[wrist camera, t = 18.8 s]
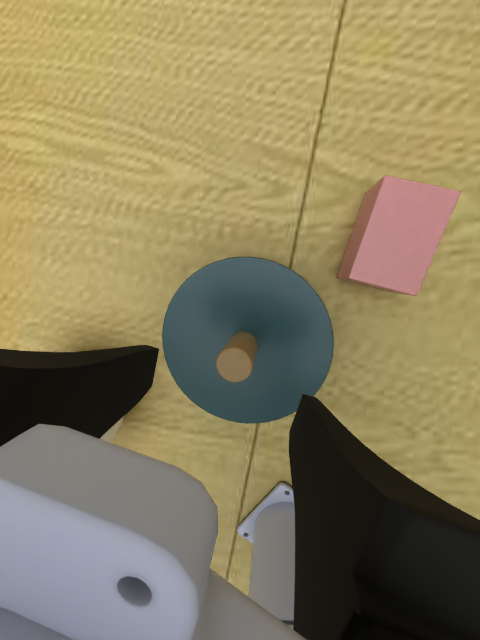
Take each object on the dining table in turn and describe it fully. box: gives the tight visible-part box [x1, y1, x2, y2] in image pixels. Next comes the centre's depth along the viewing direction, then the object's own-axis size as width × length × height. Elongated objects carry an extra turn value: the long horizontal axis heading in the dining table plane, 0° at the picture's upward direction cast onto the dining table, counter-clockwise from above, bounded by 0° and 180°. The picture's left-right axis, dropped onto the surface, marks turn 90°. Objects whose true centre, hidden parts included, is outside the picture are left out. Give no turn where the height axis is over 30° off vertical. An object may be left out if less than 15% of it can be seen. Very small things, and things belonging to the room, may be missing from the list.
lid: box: [162, 257, 334, 423], centre depth 17 cm, size 13×13×5 cm
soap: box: [337, 175, 461, 296], centre depth 17 cm, size 4×6×3 cm
